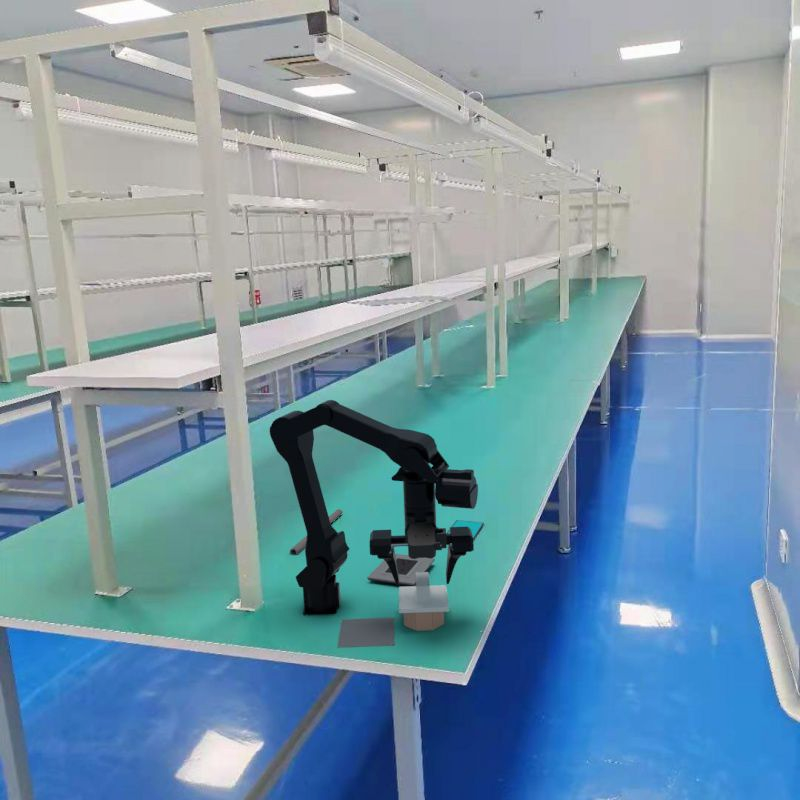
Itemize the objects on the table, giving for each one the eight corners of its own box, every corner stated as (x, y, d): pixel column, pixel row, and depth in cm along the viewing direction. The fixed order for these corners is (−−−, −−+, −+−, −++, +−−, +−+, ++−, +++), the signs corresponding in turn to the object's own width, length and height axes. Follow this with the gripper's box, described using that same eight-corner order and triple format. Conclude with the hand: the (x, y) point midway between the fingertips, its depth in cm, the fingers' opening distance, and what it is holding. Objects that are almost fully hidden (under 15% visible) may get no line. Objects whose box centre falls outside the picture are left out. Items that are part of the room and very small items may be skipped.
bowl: (404, 633, 132) (403, 611, 131) (403, 613, 139) (402, 592, 138) (445, 632, 132) (444, 609, 131) (442, 612, 139) (442, 590, 138)
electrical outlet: (414, 593, 148) (413, 582, 148) (367, 586, 152) (367, 575, 152) (435, 567, 160) (434, 557, 160) (391, 561, 164) (390, 551, 164)
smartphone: (439, 542, 172) (456, 520, 186) (439, 545, 172) (456, 523, 186) (469, 545, 169) (484, 522, 183) (470, 548, 170) (484, 525, 183)
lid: (399, 613, 130) (398, 590, 129) (399, 590, 139) (398, 569, 138) (449, 611, 130) (448, 589, 129) (446, 588, 139) (445, 568, 138)
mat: (337, 649, 127) (337, 647, 127) (341, 621, 137) (341, 619, 137) (394, 647, 127) (394, 645, 127) (394, 619, 137) (394, 617, 137)
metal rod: (290, 556, 170) (289, 548, 169) (336, 515, 195) (335, 508, 194) (297, 556, 169) (296, 548, 169) (342, 516, 194) (342, 509, 194)
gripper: (366, 521, 123) (370, 606, 126) (475, 517, 123) (477, 602, 126) (368, 500, 134) (373, 578, 137) (469, 496, 134) (471, 575, 137)
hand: (422, 584), depth 134 cm, fingers open, 9 cm apart
